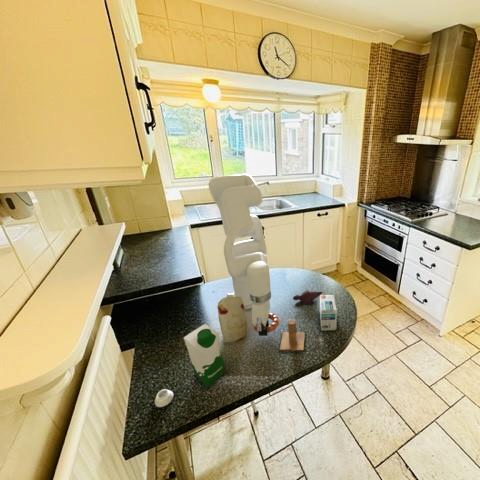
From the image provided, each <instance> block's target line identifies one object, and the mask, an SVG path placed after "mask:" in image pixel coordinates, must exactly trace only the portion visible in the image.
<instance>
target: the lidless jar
mask: <svg viewBox="0 0 480 480" xmlns="http://www.w3.org/2000/svg"><path fill="white" fill-rule="evenodd" d="M173 399H174V392H173V391H172V390H170V389H167V388H163V389H161V390H159V391H158V392H157V394H156V397H155V398H154V405H155V407H157V408H163V407H165V406H167V405H169V404H170V403H171V402H172V400H173Z"/></svg>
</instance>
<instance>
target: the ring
mask: <svg viewBox="0 0 480 480" xmlns="http://www.w3.org/2000/svg"><path fill="white" fill-rule="evenodd" d="M268 320H272V323H271V324H269V326H267V334H268V333H271V332H273V331H275V330H276V329H277V328H278V327H279V325H280V324H279V323H280V319H279V317H278V316H277V314H275V313H273V312H269V315H268ZM251 323H252V322H251ZM251 326H252V328H253V330H254V331H255V332H257V333H259V332H258V331H257V329H258V322H257V324H256V326H253V323H252V324H251Z"/></svg>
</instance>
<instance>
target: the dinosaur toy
mask: <svg viewBox="0 0 480 480" xmlns="http://www.w3.org/2000/svg"><path fill="white" fill-rule="evenodd" d="M323 294H324V292H323V291H309V290H308V289H306V290H305V291H303V292H302V293H301V294H300V295H298V294H296V295H294V296H292V299H293V301H297V302H296V303H294V307H300V306H302V305H312V304H313V301H315V300H316V299H317V298H318V297H320V295H323Z"/></svg>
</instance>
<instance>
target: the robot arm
mask: <svg viewBox="0 0 480 480" xmlns="http://www.w3.org/2000/svg"><path fill="white" fill-rule="evenodd" d="M208 190H209V193H210V195H211V198H212V199H213V201H214V202H215V204H216V206H217V208H218V210H219V213H220V219H221V221H222V227H223V231H224V234H225V237H226V238H225V241H224V244H223V256H224V261H225V265H226V268H227V272H228V274H229V276H230V277H231V280H232V281H231V282H232V286H233V293H226V297H229V296H231V297H241V298H242V300H243V304H244V308H245V310H246V309H251V320H252V321H251V323H253V326H256V324H257V322H258V329H257V331H258V332H257V331H256V332H257V333H258V336H259V337H267V336H268V333H267V326H269V325H270V322H269V320H270V319H269V318H268V315H269V313H270V310H271V302H270V300H271V299H272V290H271V278H270V276H271V275H270V267H269V265H268V257H267V254H268V250H267V244H266V239H265V233H264V229H263V226H262V225H263V224H262V222H261V220H260V218H259V217H258V215H256V214H251V210H250V208H255V207H260V206H261V205H262V203H263V194H262V191H261V189H260V187H259V185H258V183H257V182H256V181H255V179H254V178H253V177H252V176H251V175H250V174H247V173H241V174H229V175H219V176H214V177H212V178H210V179H209V180H208ZM250 237H252V239H248V240H243V241H237V242H235V241H236V240H241V239H246V238H250ZM253 326H252V327H253Z"/></svg>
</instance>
